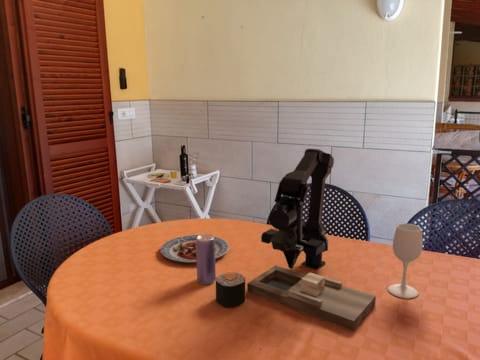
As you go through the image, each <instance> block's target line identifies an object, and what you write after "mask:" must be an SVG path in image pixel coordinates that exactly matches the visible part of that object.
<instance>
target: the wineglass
mask: <svg viewBox="0 0 480 360" xmlns="http://www.w3.org/2000/svg"><path fill="white" fill-rule="evenodd" d="M422 230H423V229H422V227H420V226H419V225H416V224H413V223H399V224H398V225H397V226H396V228H395V231H394V234H393V235H394V236H393V239H392V251H393V254H394V255H395V257H396V258H397V259H398V260H399V261H400V262H402V265H403V267H402V269H403V270H402V278H401V283H394V284H391V285H389V286H388V287H387V291H388V292H389V293H390V294H391V295H392V296H395V297H398V298H401V299H410V300H411V299H414V298H417V297H418V295H419V292H418V290H416V288H415V287H412V286H410V285H408V284H407V270H408V266H409V264H410V263H413V262H414V261H417V259H419V257H420V256H421V254H422V251H423V246H424V245H423V243H424V242H423V231H422Z"/></svg>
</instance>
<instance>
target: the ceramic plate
mask: <svg viewBox="0 0 480 360" xmlns="http://www.w3.org/2000/svg"><path fill="white" fill-rule="evenodd" d="M199 235H200V234H191V235H183V236H182V235H181V236H180V237H174V238H173V239H172V238H171V239H170V240H168V241H166V242H165V243H163V244H162V245H161V247H160V253H161V255H162V256H164V257H165V258H167V259H169V260H171V261H176V262H180V263H181V262H182V263H197V259H196V240H197V236H199ZM214 239H215V260H216V259H218V258H221V257H222V256H224V255H226V253H228V252H229V249H230V245H229V243H228V242H227V241H226V240H225V239H223V238H220V237H218V236H214Z"/></svg>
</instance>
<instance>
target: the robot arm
mask: <svg viewBox="0 0 480 360" xmlns="http://www.w3.org/2000/svg"><path fill="white" fill-rule="evenodd" d="M334 164H335V160H334V157H333V156H332V155H331V153H327V152H324V151H323V150H320V149H319V148H306V149H305V151H304V154H303V156H302V157H301V159H300V161H299V162H298V163H297V165H296V167H295V169H294V170H292V171H290V172H288V173H285V175H284V176H282V179H281V180H280V181H279V184H278V188H277V191H276V195H275V198H274V203H279V204H277V205H276V206H275V207H276V209H275V210H273V211H271V213H270V216H269V223H270V224H271V226H272V227H273V228H269V229H268V230H266V231H264V232H262V234H261V235H260V241H261V243H264V244H271V247H272V249H273V250H277V251H281V252H282V253H283V255H284V258H285V260H286V263H287V266H288V269H290V270H293V268H294V267H295V264H296V262H297V261H298V260H299V259H298V258H299V256H300V255H301V253H302V252H303V253H304V254H305V260H304V261H302V262H301V263H300V264H301V266H304V267H307V268H310V269H314V270H319V269H320V268H322V267H323V266H325V264H326V263H327V262H326V261H323V253H325V252H328V251H329V240H328V237H327V235H326V227H325V226H324V224H323V222H322V219H323V207H324V199H325V188H326V187H325V186H326V180H327V178H328V177H329V175H331V173H332V168H333V167H334ZM309 178H311V183H310V191H309V187H308V180H309ZM308 192H309V201H308V203H309V205H308V213H307V214H308V216H307V221H306V222H305V220H303V207H304V204H303V203H305V202H306V198H307V196H308Z"/></svg>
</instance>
